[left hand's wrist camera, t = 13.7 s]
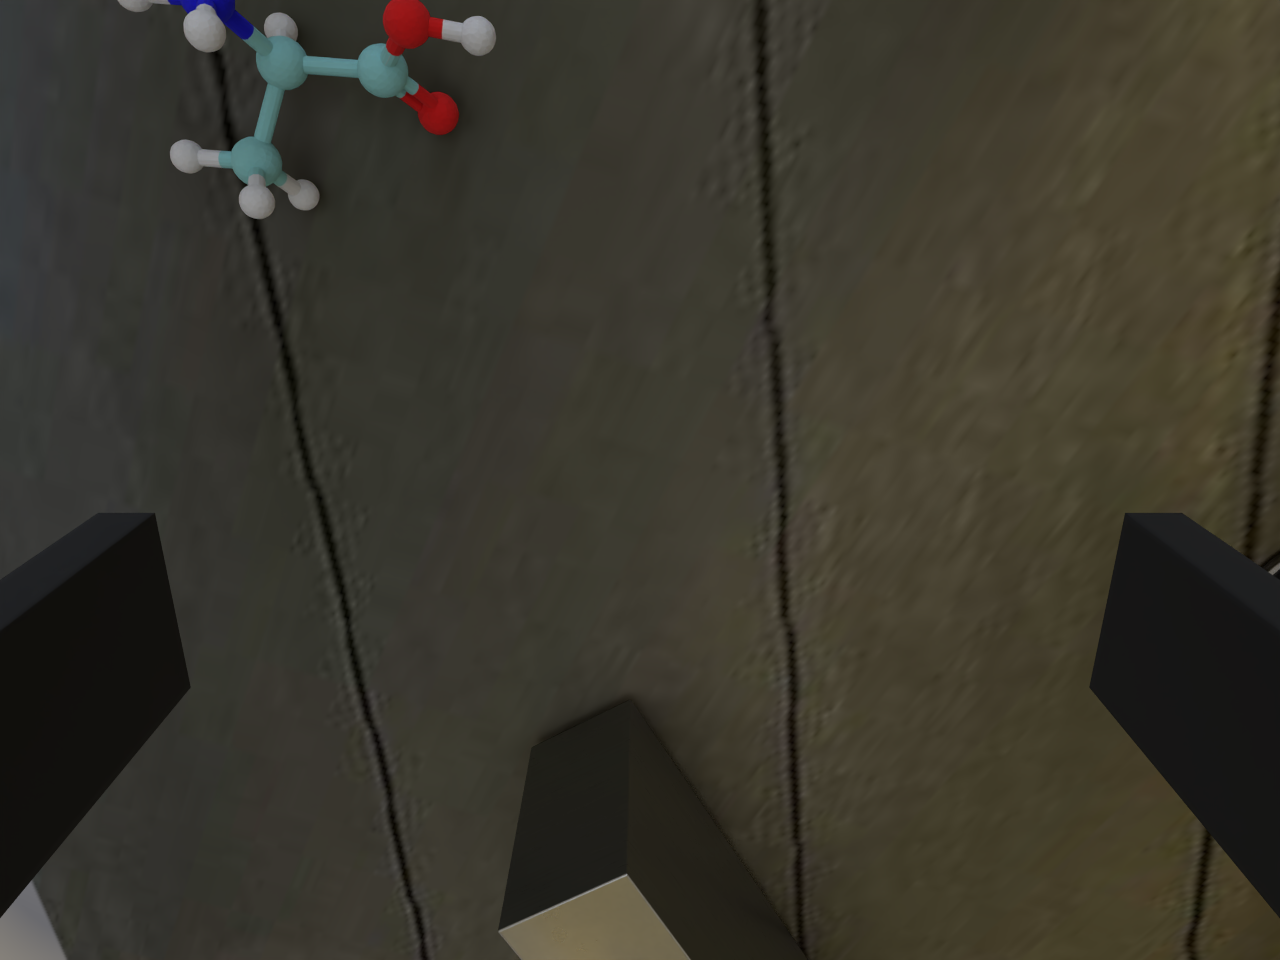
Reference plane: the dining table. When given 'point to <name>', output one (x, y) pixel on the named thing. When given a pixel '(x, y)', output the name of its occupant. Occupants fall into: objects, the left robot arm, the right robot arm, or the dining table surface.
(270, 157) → the molecular model
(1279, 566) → the right robot arm
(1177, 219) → the dining table surface
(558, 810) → the box
